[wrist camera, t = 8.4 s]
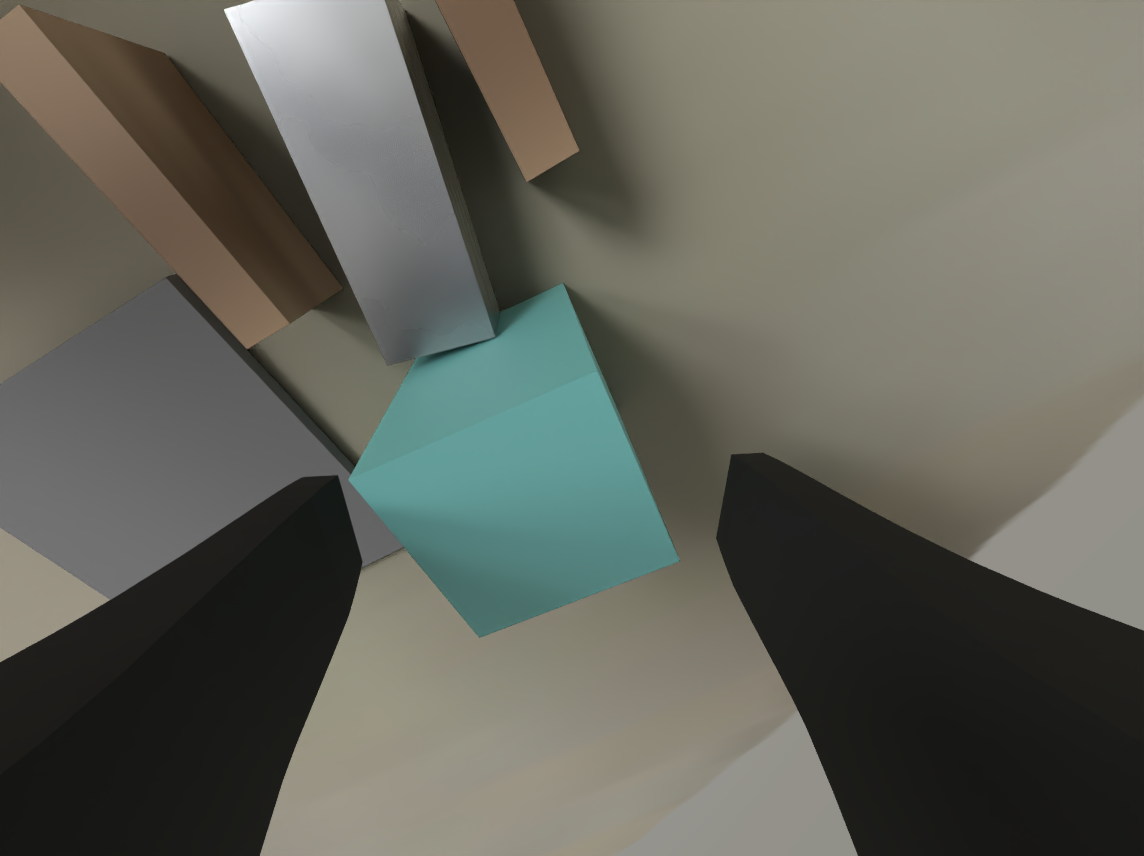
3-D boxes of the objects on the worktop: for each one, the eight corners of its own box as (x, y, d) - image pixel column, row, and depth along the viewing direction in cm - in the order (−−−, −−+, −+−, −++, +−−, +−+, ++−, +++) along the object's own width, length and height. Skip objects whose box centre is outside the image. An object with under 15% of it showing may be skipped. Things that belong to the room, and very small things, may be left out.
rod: (291, 46, 9) (223, 9, 7) (407, 13, 9) (372, -34, 7) (410, 332, 12) (387, 365, 10) (499, 308, 12) (495, 337, 10)
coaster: (-92, 446, 12) (-111, 454, 12) (176, 274, 11) (165, 277, 10) (197, 641, 16) (189, 652, 16) (416, 533, 15) (414, 542, 15)
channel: (125, 82, 9) (-33, 46, 7) (429, -141, 8) (387, -290, 6) (309, 308, 11) (246, 349, 9) (564, 155, 10) (579, 150, 8)
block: (422, 348, 12) (347, 480, 7) (563, 282, 12) (597, 370, 7) (494, 464, 14) (479, 637, 9) (618, 412, 14) (680, 561, 8)
